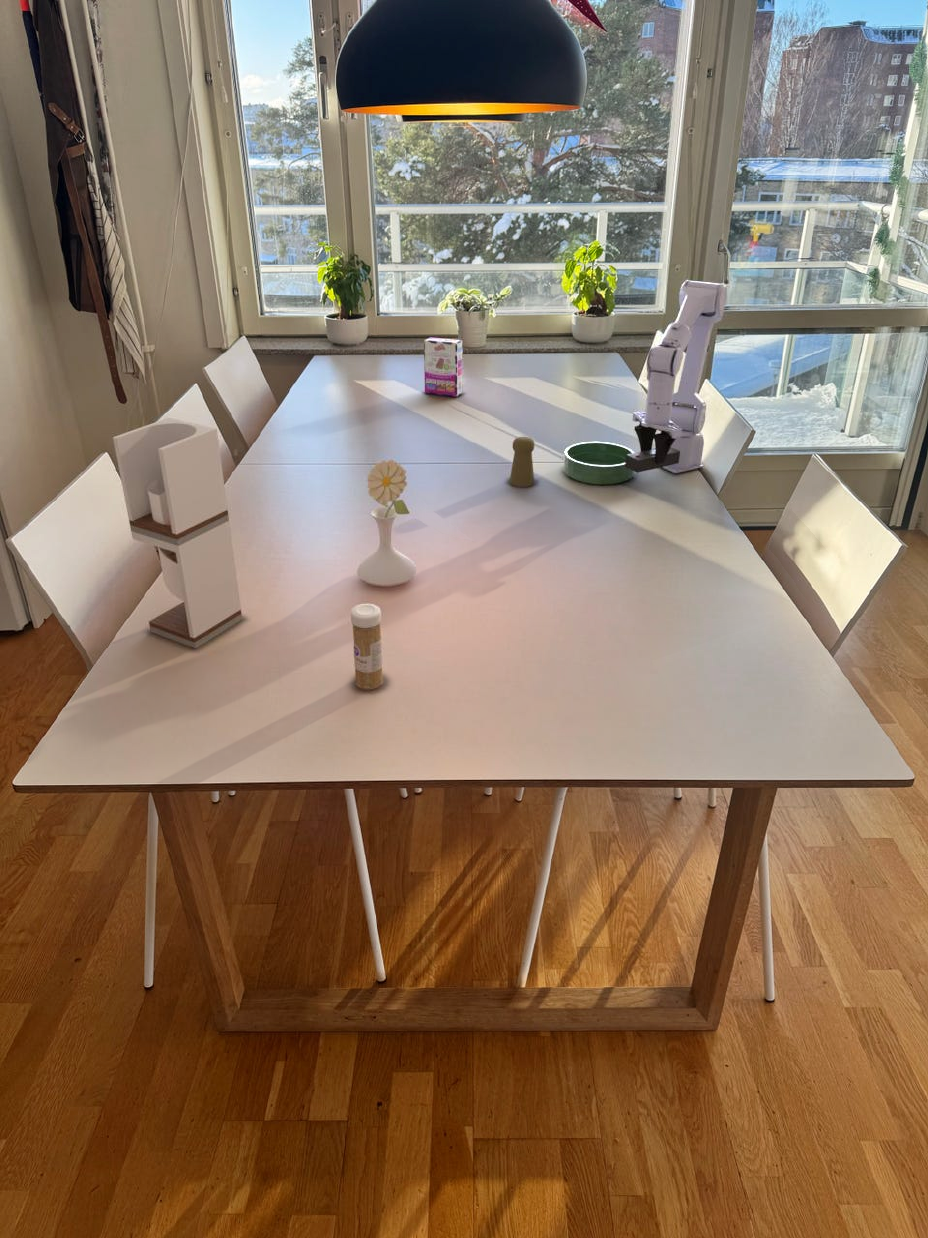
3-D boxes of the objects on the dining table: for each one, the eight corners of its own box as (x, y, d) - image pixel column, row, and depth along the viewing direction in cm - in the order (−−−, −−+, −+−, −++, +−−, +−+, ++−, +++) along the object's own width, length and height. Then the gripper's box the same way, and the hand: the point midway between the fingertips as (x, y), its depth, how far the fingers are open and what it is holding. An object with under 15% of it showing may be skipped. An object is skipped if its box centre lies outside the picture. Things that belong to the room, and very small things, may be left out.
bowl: (604, 456, 233) (606, 437, 231) (648, 478, 220) (650, 458, 218) (549, 467, 226) (550, 448, 223) (591, 490, 213) (593, 471, 210)
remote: (666, 457, 213) (667, 444, 211) (678, 463, 210) (680, 449, 208) (624, 466, 208) (626, 453, 206) (637, 472, 204) (638, 459, 203)
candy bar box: (463, 393, 281) (463, 339, 273) (456, 397, 277) (457, 343, 269) (430, 389, 285) (430, 336, 276) (423, 393, 281) (423, 339, 272)
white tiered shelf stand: (198, 604, 165) (168, 417, 147) (242, 619, 160) (216, 428, 142) (150, 631, 156) (112, 437, 138) (195, 648, 151) (162, 449, 134)
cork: (532, 487, 214) (534, 443, 209) (507, 485, 215) (509, 441, 210) (536, 478, 219) (538, 435, 214) (511, 476, 220) (513, 433, 215)
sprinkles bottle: (349, 683, 143) (344, 610, 136) (369, 671, 146) (365, 599, 139) (369, 694, 140) (365, 620, 134) (389, 682, 143) (386, 608, 137)
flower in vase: (346, 575, 175) (338, 452, 162) (395, 559, 181) (391, 440, 168) (383, 601, 166) (377, 474, 153) (433, 584, 172) (431, 460, 159)
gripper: (624, 395, 205) (619, 452, 212) (667, 412, 194) (659, 472, 201) (648, 391, 208) (642, 447, 215) (692, 408, 197) (683, 466, 204)
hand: (652, 459), depth 208 cm, fingers closed on remote, 4 cm apart
